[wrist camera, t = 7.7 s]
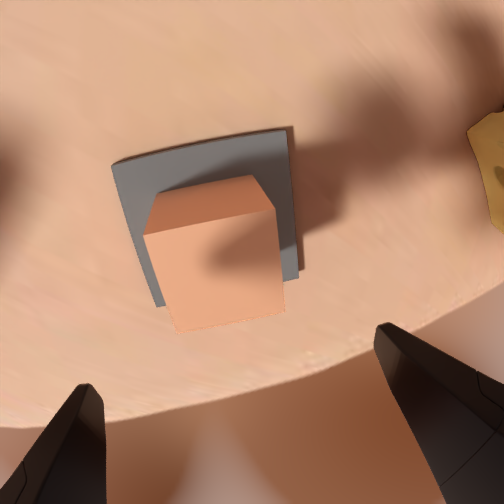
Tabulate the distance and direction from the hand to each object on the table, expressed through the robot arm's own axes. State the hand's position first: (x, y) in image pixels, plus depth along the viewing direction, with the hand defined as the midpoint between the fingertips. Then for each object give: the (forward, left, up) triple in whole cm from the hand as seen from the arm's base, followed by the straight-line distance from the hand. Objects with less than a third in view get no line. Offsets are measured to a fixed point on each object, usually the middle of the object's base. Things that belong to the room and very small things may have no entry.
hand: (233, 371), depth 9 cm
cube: (0, 0, -10) cm, 10 cm away
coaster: (0, 0, -10) cm, 10 cm away
